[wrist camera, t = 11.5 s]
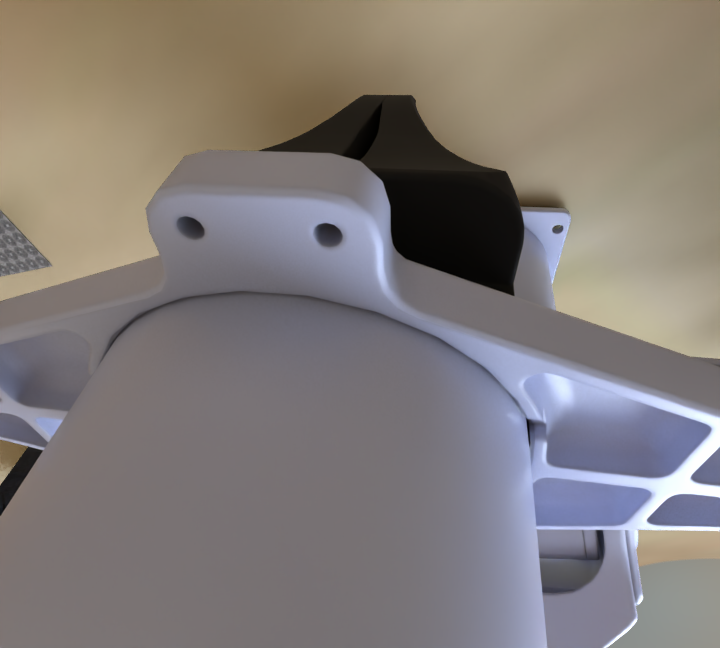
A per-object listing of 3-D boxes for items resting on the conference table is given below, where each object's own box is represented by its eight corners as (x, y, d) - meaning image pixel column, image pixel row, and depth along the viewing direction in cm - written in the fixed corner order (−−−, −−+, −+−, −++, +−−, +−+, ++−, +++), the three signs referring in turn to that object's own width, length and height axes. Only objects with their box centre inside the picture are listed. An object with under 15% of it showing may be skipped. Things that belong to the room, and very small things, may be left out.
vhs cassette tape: (41, 424, 52) (-24, 516, 45) (68, 431, 52) (7, 523, 45) (83, 492, 65) (37, 571, 58) (104, 497, 65) (61, 576, 58)
